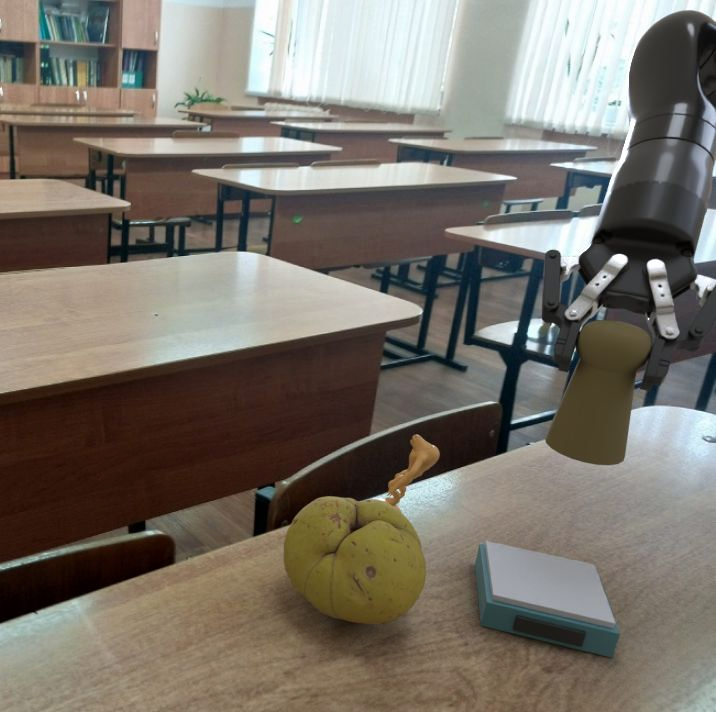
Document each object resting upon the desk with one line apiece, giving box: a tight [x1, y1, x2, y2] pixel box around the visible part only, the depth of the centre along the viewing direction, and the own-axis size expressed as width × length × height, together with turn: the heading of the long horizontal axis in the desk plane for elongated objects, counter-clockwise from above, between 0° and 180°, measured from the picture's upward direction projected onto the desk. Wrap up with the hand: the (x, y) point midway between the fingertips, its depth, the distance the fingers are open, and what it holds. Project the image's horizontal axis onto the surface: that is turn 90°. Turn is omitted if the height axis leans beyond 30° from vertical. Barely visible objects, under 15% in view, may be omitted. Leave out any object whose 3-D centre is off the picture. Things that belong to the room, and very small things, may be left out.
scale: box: [474, 540, 621, 659], centre depth 64 cm, size 10×9×3 cm
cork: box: [544, 319, 653, 466], centre depth 60 cm, size 6×6×11 cm
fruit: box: [283, 495, 427, 625], centre depth 62 cm, size 11×12×10 cm
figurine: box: [375, 434, 441, 514], centre depth 71 cm, size 8×6×12 cm
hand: (604, 375), depth 58 cm, fingers closed on cork, 5 cm apart
